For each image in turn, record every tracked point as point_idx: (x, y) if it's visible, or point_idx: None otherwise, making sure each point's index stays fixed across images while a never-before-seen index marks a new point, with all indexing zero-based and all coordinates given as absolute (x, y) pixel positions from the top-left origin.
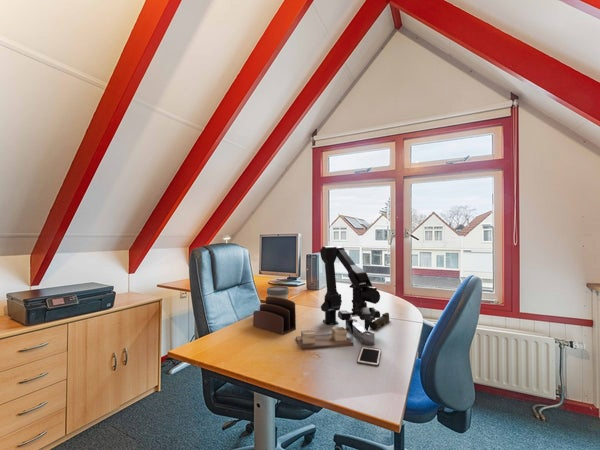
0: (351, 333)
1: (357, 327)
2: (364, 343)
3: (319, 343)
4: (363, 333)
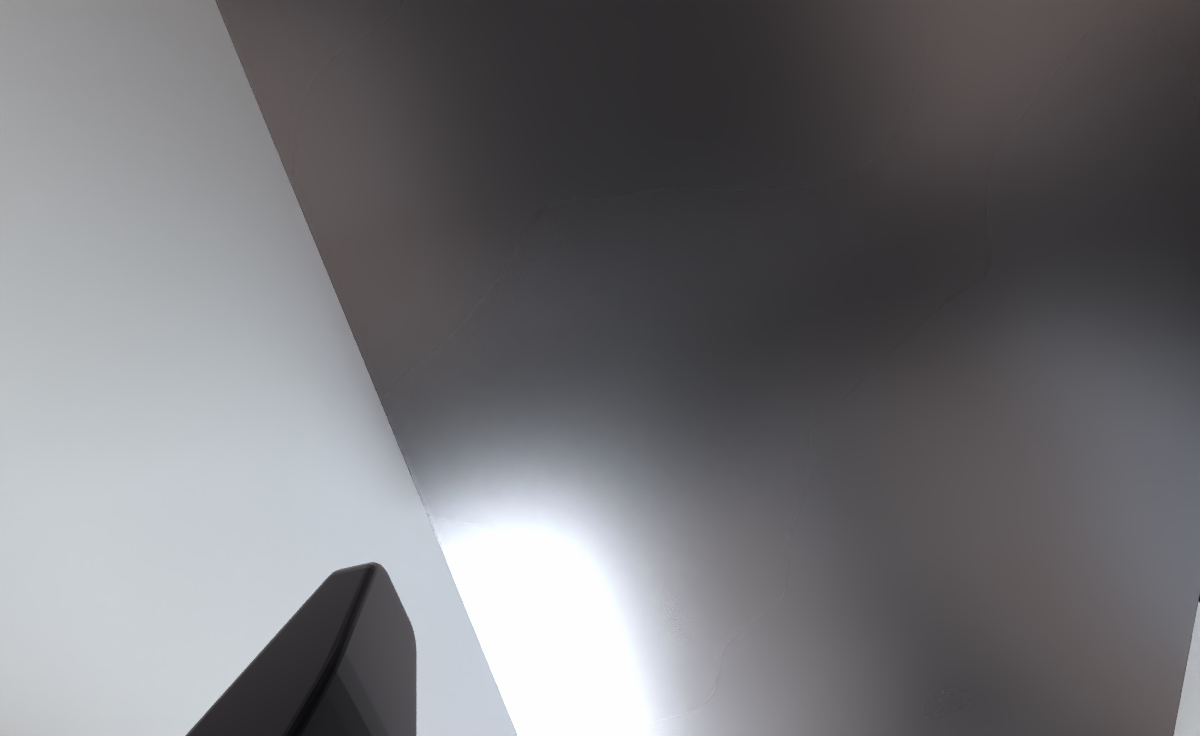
0: None
1: (1057, 705)
2: None
3: None
4: None
